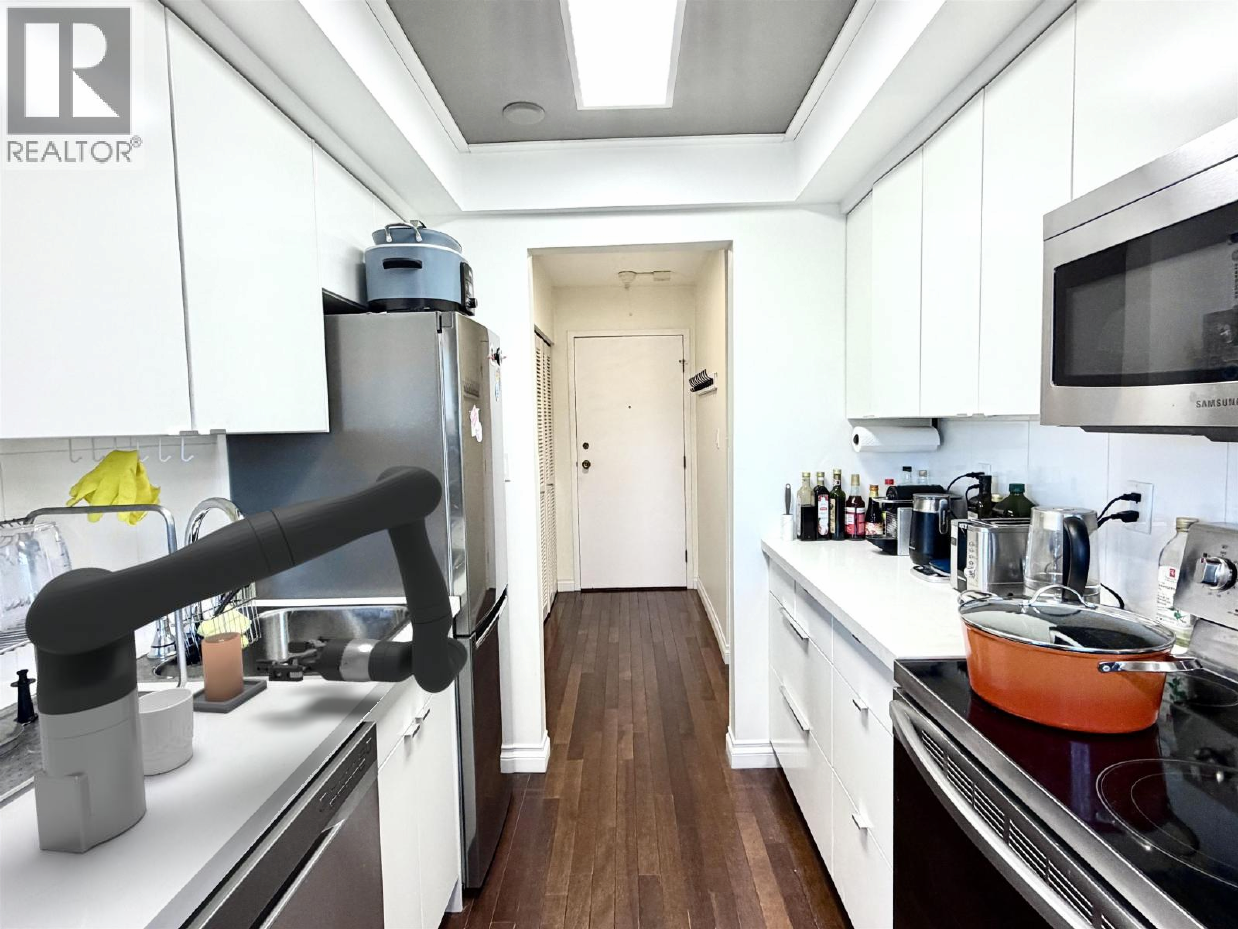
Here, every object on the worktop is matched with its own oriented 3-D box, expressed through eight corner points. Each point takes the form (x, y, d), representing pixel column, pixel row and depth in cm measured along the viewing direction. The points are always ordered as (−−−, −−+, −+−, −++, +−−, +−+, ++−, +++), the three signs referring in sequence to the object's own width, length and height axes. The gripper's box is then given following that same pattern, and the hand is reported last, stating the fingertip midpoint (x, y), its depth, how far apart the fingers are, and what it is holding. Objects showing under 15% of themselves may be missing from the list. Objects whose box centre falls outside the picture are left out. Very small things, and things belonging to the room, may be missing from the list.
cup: (226, 703, 102) (222, 644, 101) (196, 701, 103) (192, 643, 102) (251, 688, 108) (248, 632, 107) (223, 686, 108) (220, 631, 108)
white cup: (139, 785, 80) (134, 718, 79) (124, 765, 85) (120, 702, 84) (204, 759, 86) (200, 697, 86) (187, 741, 91) (184, 682, 90)
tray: (227, 713, 100) (226, 704, 100) (179, 710, 101) (178, 701, 101) (267, 688, 109) (266, 680, 109) (222, 685, 111) (222, 677, 110)
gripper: (375, 625, 108) (298, 622, 110) (329, 656, 94) (241, 652, 96) (377, 663, 109) (300, 659, 111) (331, 699, 95) (244, 694, 97)
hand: (272, 656), depth 103 cm, fingers open, 8 cm apart
